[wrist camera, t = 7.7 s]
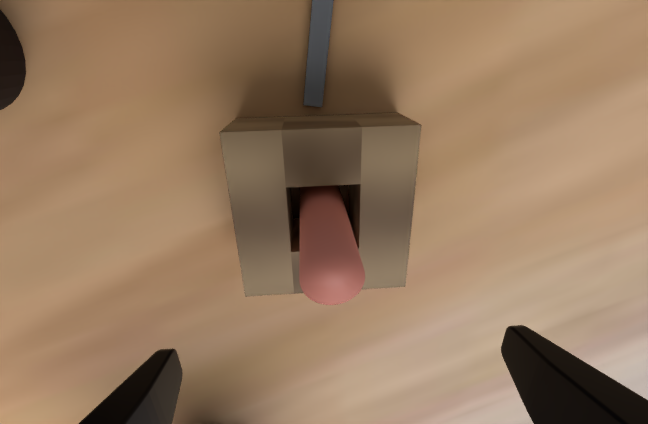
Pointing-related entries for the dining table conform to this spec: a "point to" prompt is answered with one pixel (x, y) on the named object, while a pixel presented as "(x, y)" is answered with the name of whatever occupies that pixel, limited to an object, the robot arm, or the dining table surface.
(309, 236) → the reddish pink rod
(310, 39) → the blue gray square bar
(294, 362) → the dining table surface
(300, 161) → the brown square holed block
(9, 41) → the coffee mug
